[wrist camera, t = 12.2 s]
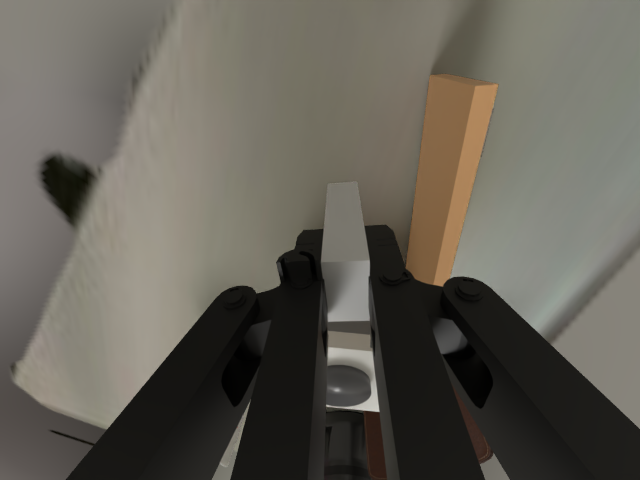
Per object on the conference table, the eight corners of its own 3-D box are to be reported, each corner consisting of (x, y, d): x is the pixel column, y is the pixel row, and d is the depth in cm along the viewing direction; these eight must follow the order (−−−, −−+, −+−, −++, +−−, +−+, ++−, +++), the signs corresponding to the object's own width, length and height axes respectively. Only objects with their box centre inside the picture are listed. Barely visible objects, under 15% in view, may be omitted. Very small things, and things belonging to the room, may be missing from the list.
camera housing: (381, 345, 44) (392, 423, 34) (289, 336, 44) (275, 411, 34) (401, 287, 36) (422, 366, 27) (290, 276, 36) (273, 352, 27)
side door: (402, 293, 36) (418, 355, 29) (429, 75, 22) (475, 85, 15) (417, 293, 36) (438, 355, 29) (455, 72, 22) (514, 82, 14)
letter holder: (361, 393, 53) (367, 488, 41) (457, 357, 45) (498, 464, 33) (390, 412, 57) (403, 504, 45) (483, 383, 48) (529, 486, 37)
